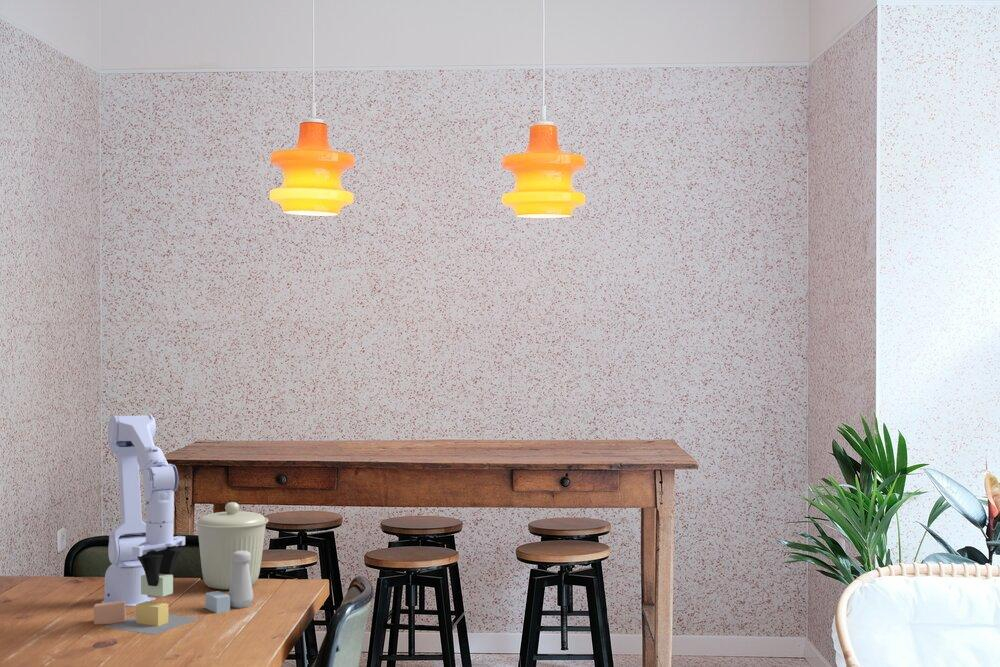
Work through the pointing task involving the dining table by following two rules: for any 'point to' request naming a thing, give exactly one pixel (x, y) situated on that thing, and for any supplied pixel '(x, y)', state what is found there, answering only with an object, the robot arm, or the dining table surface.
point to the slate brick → (217, 602)
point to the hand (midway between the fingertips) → (158, 583)
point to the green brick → (163, 586)
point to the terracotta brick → (109, 612)
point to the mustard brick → (152, 613)
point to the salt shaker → (241, 581)
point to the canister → (229, 543)
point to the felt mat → (151, 629)
